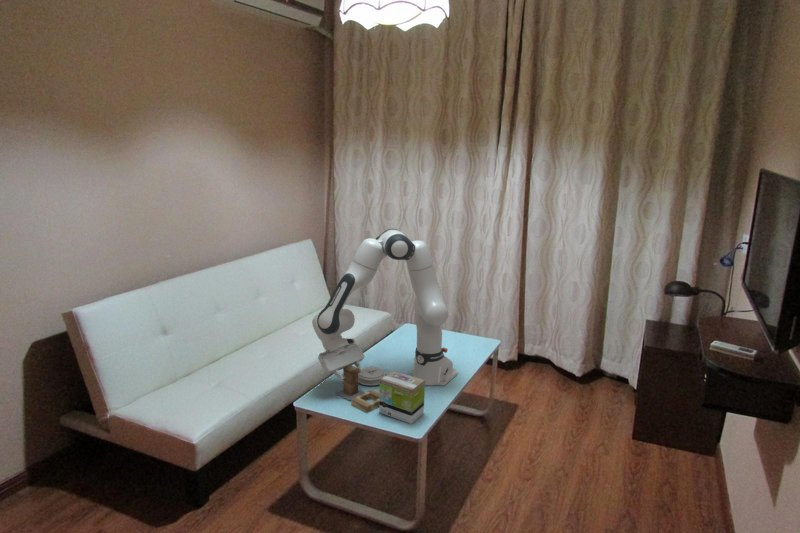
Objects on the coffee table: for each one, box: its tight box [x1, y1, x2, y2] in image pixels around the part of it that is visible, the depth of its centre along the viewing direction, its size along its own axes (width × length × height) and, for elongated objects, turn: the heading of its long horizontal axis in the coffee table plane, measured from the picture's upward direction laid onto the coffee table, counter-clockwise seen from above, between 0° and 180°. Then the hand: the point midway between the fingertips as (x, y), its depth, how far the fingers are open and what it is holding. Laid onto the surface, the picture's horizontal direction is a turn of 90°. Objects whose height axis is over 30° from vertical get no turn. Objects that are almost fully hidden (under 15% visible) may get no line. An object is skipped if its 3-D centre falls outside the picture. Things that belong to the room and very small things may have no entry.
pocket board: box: [350, 389, 380, 414], centre depth 210 cm, size 12×9×2 cm
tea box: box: [378, 370, 426, 425], centre depth 201 cm, size 15×10×15 cm, turn 58°
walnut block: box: [342, 365, 359, 396], centre depth 217 cm, size 4×4×11 cm
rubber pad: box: [334, 388, 366, 402], centre depth 218 cm, size 9×9×1 cm
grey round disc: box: [358, 366, 387, 386], centre depth 230 cm, size 13×13×5 cm
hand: (351, 376), depth 216 cm, fingers open, 8 cm apart
